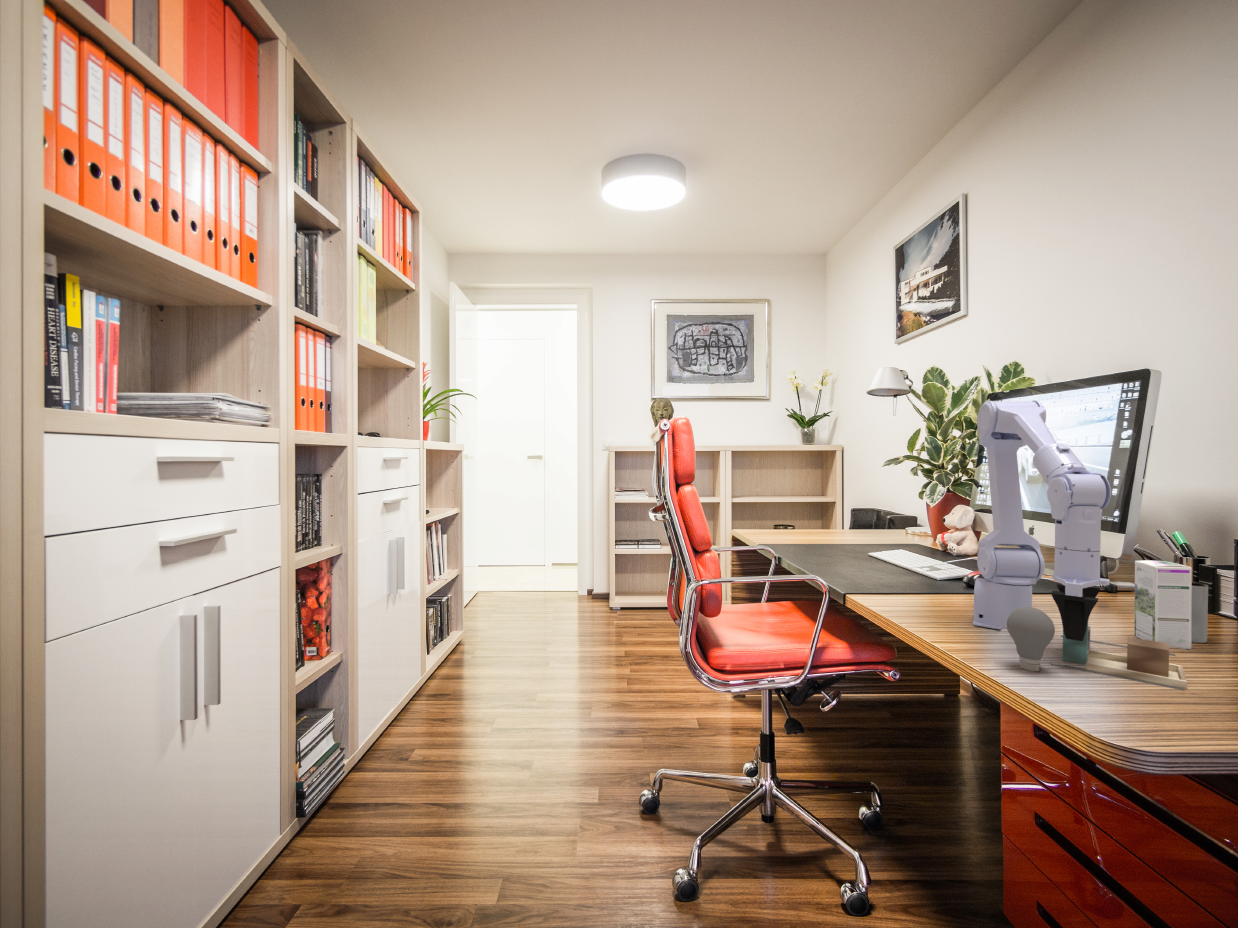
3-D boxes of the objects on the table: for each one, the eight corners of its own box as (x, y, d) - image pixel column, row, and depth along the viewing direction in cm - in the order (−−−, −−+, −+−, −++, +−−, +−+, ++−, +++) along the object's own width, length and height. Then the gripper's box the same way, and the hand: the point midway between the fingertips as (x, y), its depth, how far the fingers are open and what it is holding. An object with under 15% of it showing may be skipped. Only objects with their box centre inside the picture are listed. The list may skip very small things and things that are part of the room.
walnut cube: (1127, 673, 87) (1127, 643, 87) (1126, 665, 90) (1127, 636, 90) (1168, 681, 84) (1169, 650, 84) (1166, 672, 87) (1167, 643, 87)
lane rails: (1050, 668, 91) (1050, 663, 91) (1060, 639, 106) (1060, 635, 106) (1184, 695, 81) (1184, 689, 81) (1174, 658, 96) (1175, 654, 96)
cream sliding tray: (1061, 668, 90) (1061, 626, 90) (1065, 654, 97) (1065, 615, 97) (1186, 692, 81) (1187, 646, 81) (1181, 676, 88) (1182, 633, 88)
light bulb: (1045, 668, 91) (1046, 604, 91) (1060, 682, 85) (1061, 614, 85) (1000, 663, 93) (1002, 601, 92) (1012, 676, 87) (1013, 610, 87)
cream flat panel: (1065, 653, 98) (1066, 630, 98) (1069, 642, 104) (1069, 619, 104) (1176, 674, 89) (1177, 648, 89) (1173, 659, 95) (1173, 635, 95)
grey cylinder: (1165, 635, 109) (1166, 580, 109) (1187, 635, 109) (1188, 580, 109) (1191, 643, 104) (1192, 586, 104) (1214, 642, 105) (1215, 585, 104)
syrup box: (1193, 649, 101) (1194, 566, 100) (1153, 647, 102) (1155, 564, 102) (1169, 639, 106) (1170, 560, 106) (1131, 637, 107) (1133, 559, 107)
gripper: (1109, 557, 84) (1107, 650, 84) (1110, 546, 95) (1109, 629, 95) (1048, 551, 89) (1047, 640, 89) (1057, 542, 100) (1055, 621, 100)
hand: (1075, 634), depth 93 cm, fingers open, 7 cm apart
